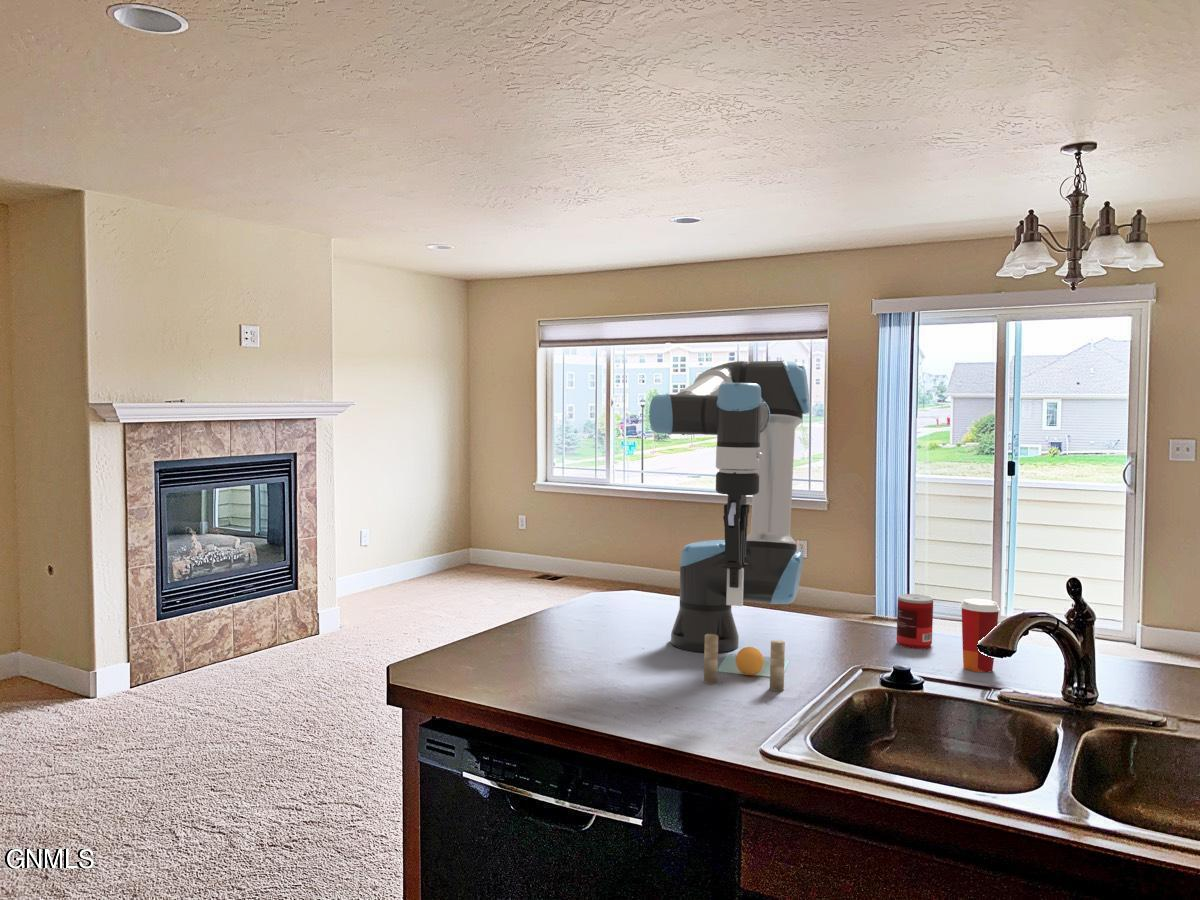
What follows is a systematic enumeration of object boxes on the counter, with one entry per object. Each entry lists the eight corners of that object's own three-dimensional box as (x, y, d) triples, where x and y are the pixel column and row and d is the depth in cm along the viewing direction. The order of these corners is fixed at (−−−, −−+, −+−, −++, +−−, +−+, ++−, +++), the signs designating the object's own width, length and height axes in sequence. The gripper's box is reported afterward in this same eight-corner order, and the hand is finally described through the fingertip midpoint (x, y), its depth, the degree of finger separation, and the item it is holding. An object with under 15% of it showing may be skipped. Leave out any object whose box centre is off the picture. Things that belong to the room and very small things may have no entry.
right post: (768, 690, 166) (770, 642, 166) (770, 686, 168) (771, 639, 168) (782, 691, 165) (784, 644, 165) (784, 687, 168) (785, 640, 167)
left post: (702, 682, 170) (703, 636, 169) (705, 679, 172) (706, 633, 172) (715, 684, 169) (717, 637, 169) (718, 680, 171) (719, 634, 171)
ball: (734, 644, 175) (738, 646, 180) (732, 673, 173) (736, 674, 179) (762, 647, 173) (766, 649, 178) (760, 676, 172) (764, 677, 177)
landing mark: (716, 671, 178) (716, 670, 178) (727, 655, 190) (727, 654, 190) (782, 678, 174) (782, 677, 174) (789, 661, 186) (789, 660, 186)
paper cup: (998, 666, 186) (1000, 600, 185) (997, 675, 179) (1000, 607, 178) (958, 661, 189) (960, 596, 188) (956, 670, 182) (958, 603, 181)
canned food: (931, 642, 205) (932, 595, 205) (932, 650, 198) (933, 601, 197) (896, 639, 208) (897, 592, 207) (896, 647, 200) (897, 599, 200)
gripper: (753, 474, 147) (750, 614, 149) (764, 469, 160) (761, 598, 161) (709, 472, 150) (706, 610, 151) (722, 468, 162) (720, 595, 163)
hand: (734, 604), depth 156 cm, fingers closed
